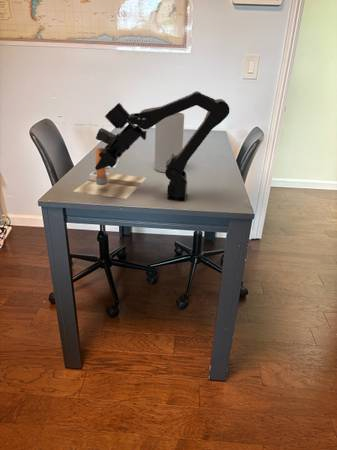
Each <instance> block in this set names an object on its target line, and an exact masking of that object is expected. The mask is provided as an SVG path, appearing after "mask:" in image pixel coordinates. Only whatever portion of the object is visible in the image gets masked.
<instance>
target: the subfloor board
mask: <svg viewBox="0 0 337 450" xmlns="http://www.w3.org/2000/svg"><path fill="white" fill-rule="evenodd" d="M106 173H107V175H108V179H107V184H106V185H97V184H96V181H92V180H90V179H88V180H87V181H85V183H83V184H81V185H80V186H78V187H77V188H76V189H74V190H73V192H74V193H80V194H81V193H82V194H88V195H95V196H100V197H101V196H103V197H110V198H117V199H118V198H119V199H124V200H126V199H127V198H129V197H130V196H131V195H132V193H133V192H134V191H135V190H136V189H137V188H138V187H139V186H140V185H141V184H142V183H143V182H144V181H145V180H146V179H147V177H144V176H143V177H142V176H135V175H127V174H120V173H119V174H118V173H110V172H106Z"/></svg>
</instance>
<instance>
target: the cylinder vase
mask: <svg viewBox="0 0 337 450" xmlns="http://www.w3.org/2000/svg"><path fill="white" fill-rule="evenodd" d="M184 124H185V113H182V112H178V113H176V114H174V115H171V116H169V117H166V118H164V119H163V120H161V121H160V122H158V123H157V124H155V125H154V127H155V131H154V132H155V133H154V136H155V137H154V170H156V171H157V172H160V173H163V174H165V171H166V162H167V161H168V160H169V159H170V158H171V156H172V154H174V155H175V156H176V155H177V154H179V153H180V152H181V150H182V149H183V148H184V147H183V146H184V145H183V144H184V128H185V125H184Z"/></svg>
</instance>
